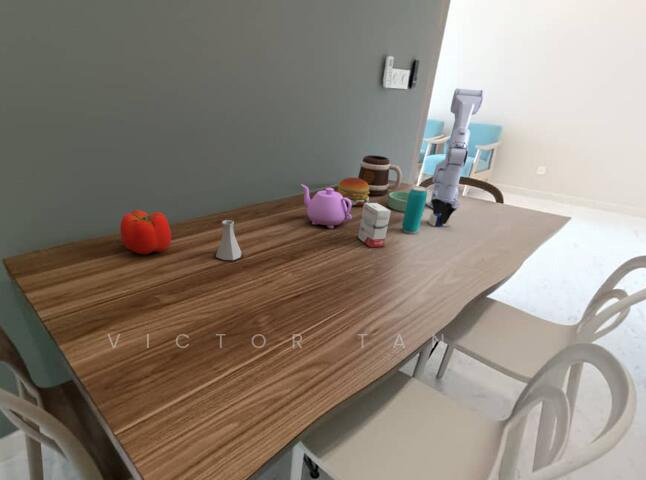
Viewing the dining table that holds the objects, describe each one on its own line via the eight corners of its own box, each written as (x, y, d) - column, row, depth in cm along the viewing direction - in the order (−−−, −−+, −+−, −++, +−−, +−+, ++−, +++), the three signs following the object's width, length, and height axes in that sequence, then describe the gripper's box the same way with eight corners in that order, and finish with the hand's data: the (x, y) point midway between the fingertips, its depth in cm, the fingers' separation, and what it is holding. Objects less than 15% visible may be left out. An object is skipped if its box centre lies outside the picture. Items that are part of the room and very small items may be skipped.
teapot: (289, 221, 138) (291, 187, 132) (307, 211, 149) (309, 179, 143) (342, 234, 131) (347, 198, 125) (356, 222, 142) (362, 188, 135)
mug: (349, 192, 175) (354, 157, 168) (359, 185, 187) (364, 152, 179) (394, 200, 168) (401, 164, 161) (401, 193, 180) (408, 159, 172)
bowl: (412, 202, 168) (414, 191, 166) (429, 212, 157) (431, 201, 154) (381, 202, 165) (383, 191, 163) (396, 213, 154) (399, 202, 151)
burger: (336, 196, 169) (338, 172, 164) (367, 199, 168) (371, 175, 162) (334, 206, 157) (337, 180, 152) (368, 209, 156) (373, 184, 151)
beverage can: (416, 229, 139) (426, 186, 132) (419, 235, 134) (430, 191, 127) (400, 227, 140) (409, 185, 132) (402, 233, 135) (412, 190, 127)
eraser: (442, 222, 147) (445, 213, 145) (448, 226, 144) (450, 216, 142) (428, 223, 146) (430, 213, 144) (433, 226, 143) (436, 216, 141)
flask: (245, 253, 113) (245, 220, 108) (234, 263, 108) (234, 228, 102) (223, 248, 115) (222, 215, 110) (211, 258, 109) (209, 223, 104)
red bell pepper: (112, 253, 108) (106, 217, 103) (143, 237, 119) (139, 203, 113) (154, 263, 104) (150, 226, 99) (182, 246, 115) (179, 211, 110)
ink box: (384, 246, 124) (391, 210, 118) (370, 248, 122) (377, 211, 116) (370, 236, 131) (376, 201, 125) (357, 237, 129) (363, 202, 123)
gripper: (428, 178, 143) (419, 214, 150) (450, 189, 131) (440, 228, 138) (445, 178, 144) (436, 214, 151) (469, 189, 132) (458, 228, 139)
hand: (439, 221), depth 145 cm, fingers open, 4 cm apart
